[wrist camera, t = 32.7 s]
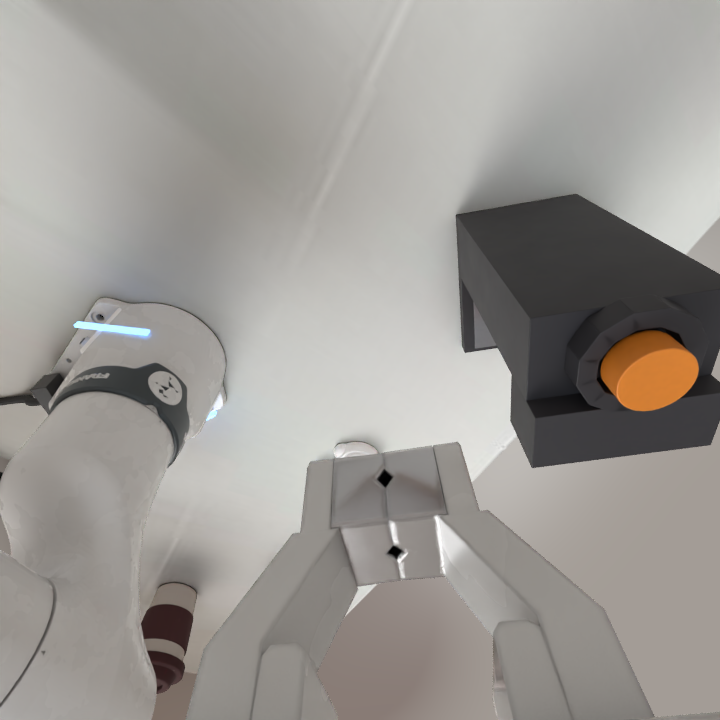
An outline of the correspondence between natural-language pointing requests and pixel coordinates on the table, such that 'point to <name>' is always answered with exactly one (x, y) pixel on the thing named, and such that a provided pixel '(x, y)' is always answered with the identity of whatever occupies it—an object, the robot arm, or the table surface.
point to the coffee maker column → (580, 292)
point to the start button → (648, 370)
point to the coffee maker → (597, 415)
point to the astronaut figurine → (353, 449)
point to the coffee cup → (169, 632)
